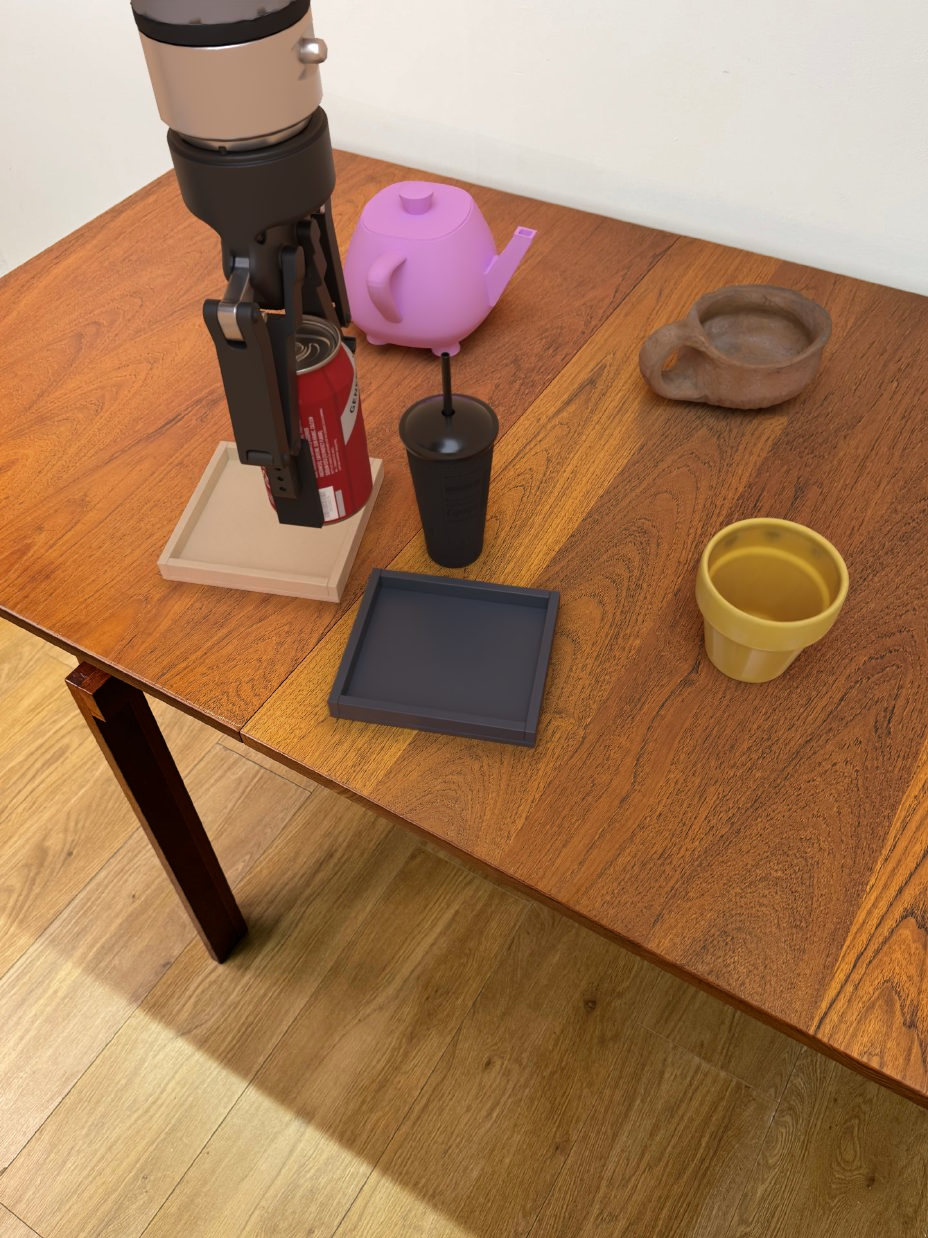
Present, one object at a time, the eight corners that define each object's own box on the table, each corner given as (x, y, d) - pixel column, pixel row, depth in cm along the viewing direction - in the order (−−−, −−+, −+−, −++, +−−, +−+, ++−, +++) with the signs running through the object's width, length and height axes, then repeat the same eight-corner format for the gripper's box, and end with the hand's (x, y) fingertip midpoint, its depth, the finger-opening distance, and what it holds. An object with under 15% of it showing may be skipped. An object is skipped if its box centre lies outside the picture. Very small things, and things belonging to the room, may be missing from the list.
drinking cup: (482, 507, 89) (478, 313, 74) (511, 567, 85) (514, 374, 69) (400, 528, 88) (379, 335, 72) (425, 590, 83) (408, 398, 68)
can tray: (330, 717, 76) (327, 701, 74) (375, 583, 84) (372, 567, 82) (534, 748, 73) (535, 732, 72) (559, 608, 82) (560, 591, 80)
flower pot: (819, 713, 74) (855, 633, 67) (679, 696, 76) (698, 615, 68) (813, 608, 81) (845, 523, 73) (684, 593, 82) (703, 508, 75)
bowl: (709, 462, 90) (705, 357, 84) (617, 414, 100) (608, 318, 95) (856, 393, 95) (863, 290, 89) (754, 354, 106) (754, 260, 100)
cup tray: (163, 579, 85) (156, 562, 83) (225, 457, 94) (220, 440, 93) (339, 603, 83) (336, 586, 81) (384, 475, 92) (382, 458, 91)
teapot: (499, 408, 98) (498, 270, 86) (313, 372, 102) (288, 236, 90) (553, 297, 109) (559, 162, 98) (383, 269, 114) (370, 137, 102)
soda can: (348, 544, 62) (319, 389, 53) (252, 520, 64) (208, 366, 55) (390, 474, 66) (370, 318, 57) (298, 453, 68) (265, 298, 58)
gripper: (253, 232, 39) (333, 604, 57) (376, 30, 51) (410, 389, 69) (78, 220, 41) (210, 588, 58) (238, 24, 53) (307, 379, 70)
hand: (319, 480), depth 64 cm, fingers closed on soda can, 7 cm apart
